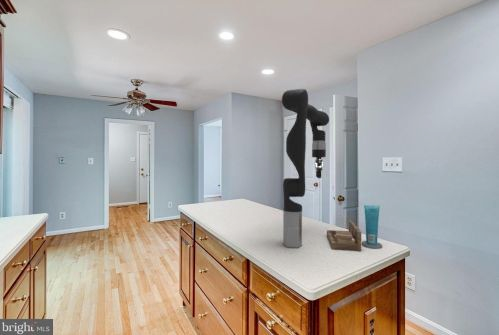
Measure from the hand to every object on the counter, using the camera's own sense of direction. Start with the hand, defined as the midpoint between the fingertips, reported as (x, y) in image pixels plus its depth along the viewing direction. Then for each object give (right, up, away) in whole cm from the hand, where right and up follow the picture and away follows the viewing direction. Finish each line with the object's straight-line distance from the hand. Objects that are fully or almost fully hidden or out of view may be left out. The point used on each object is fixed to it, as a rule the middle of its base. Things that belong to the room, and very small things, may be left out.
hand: (318, 177), depth 143 cm
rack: (+8, -33, -15) cm, 37 cm away
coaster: (+21, -33, -19) cm, 43 cm away
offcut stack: (+7, -33, -19) cm, 39 cm away
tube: (+21, -32, -19) cm, 43 cm away
